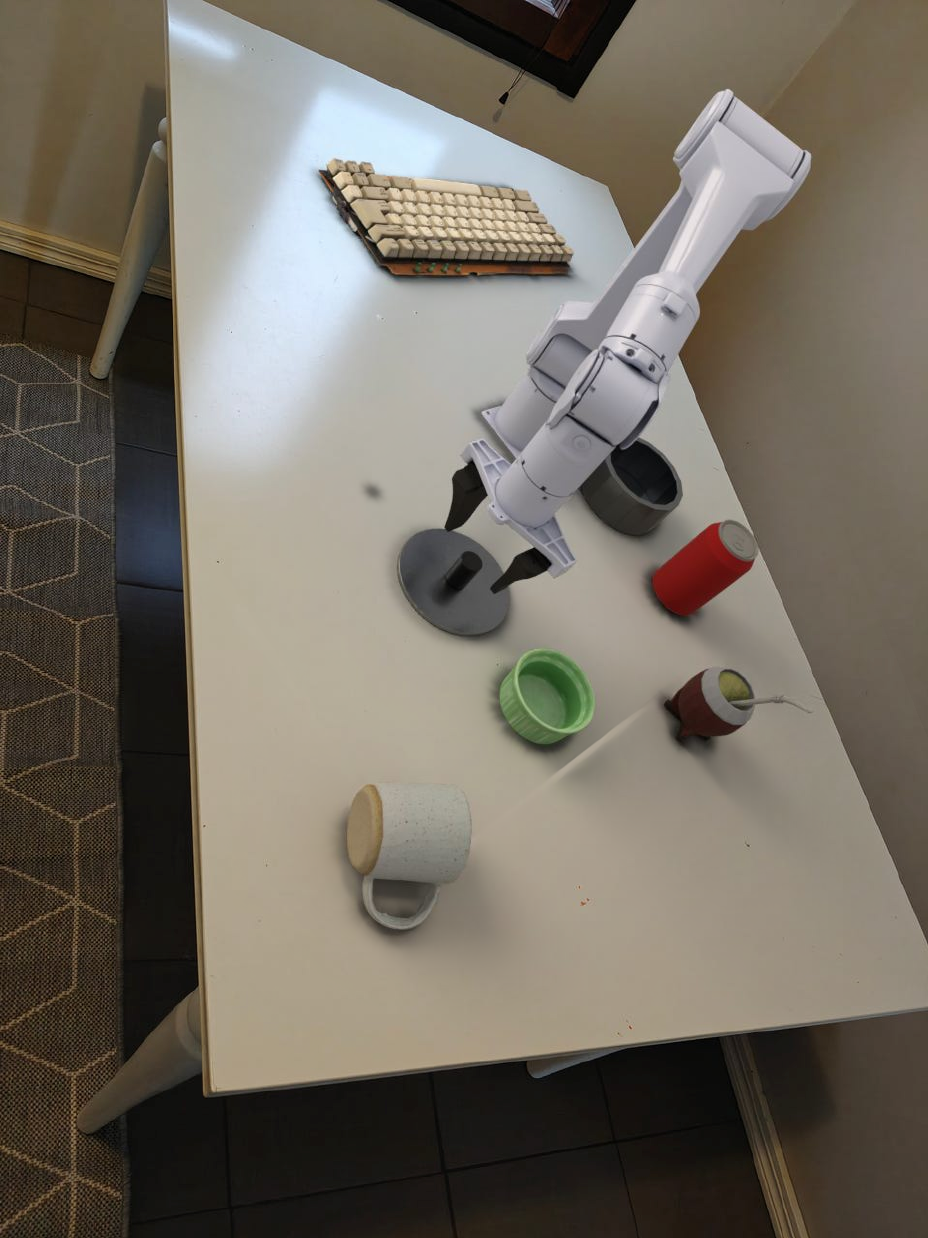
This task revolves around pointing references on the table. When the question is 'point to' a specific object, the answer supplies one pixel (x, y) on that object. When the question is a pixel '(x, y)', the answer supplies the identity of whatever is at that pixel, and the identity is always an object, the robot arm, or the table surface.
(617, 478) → the tin
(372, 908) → the ceramic mug
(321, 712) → the table surface
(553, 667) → the ramekin
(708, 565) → the beverage can
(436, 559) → the tin lid
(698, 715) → the mate gourd
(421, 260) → the mechanical keyboard
